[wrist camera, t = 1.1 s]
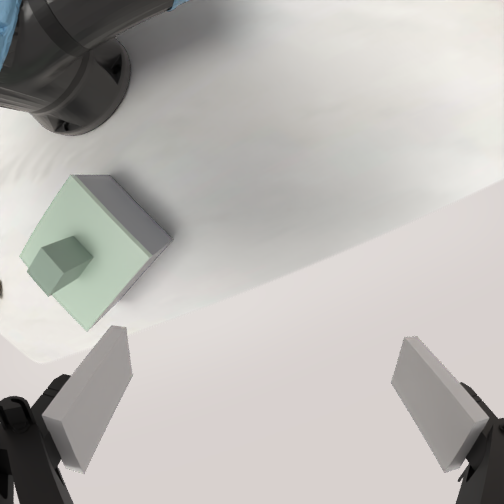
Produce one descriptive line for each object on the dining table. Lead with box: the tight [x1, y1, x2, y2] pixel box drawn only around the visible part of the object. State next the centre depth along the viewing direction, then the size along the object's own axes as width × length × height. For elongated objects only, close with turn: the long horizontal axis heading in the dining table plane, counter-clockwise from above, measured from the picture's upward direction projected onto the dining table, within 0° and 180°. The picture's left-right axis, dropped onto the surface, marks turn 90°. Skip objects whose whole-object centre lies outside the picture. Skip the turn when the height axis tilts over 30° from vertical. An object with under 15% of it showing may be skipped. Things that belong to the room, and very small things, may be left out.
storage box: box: [76, 175, 173, 324], centre depth 35 cm, size 12×12×9 cm
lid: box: [19, 175, 153, 331], centre depth 29 cm, size 12×12×9 cm
